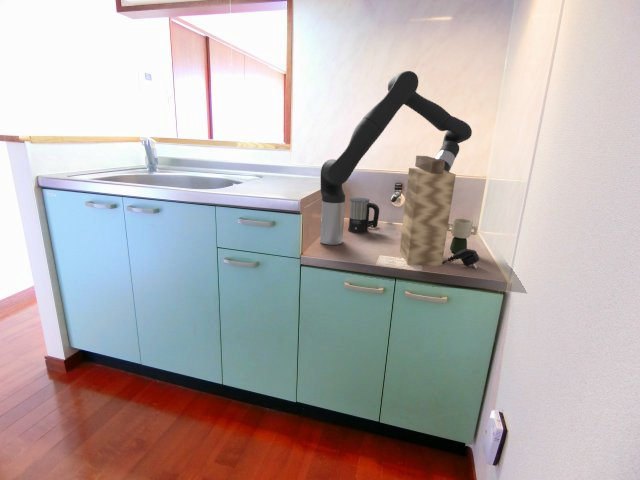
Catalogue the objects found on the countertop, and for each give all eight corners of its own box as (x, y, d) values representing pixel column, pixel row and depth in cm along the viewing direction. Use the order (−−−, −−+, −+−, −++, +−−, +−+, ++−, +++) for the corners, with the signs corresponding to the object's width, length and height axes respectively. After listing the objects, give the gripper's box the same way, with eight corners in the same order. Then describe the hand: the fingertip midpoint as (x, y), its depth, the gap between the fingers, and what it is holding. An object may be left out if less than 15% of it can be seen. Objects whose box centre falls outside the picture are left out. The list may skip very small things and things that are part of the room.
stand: (407, 264, 122) (418, 173, 112) (399, 250, 136) (408, 168, 126) (441, 266, 122) (455, 174, 112) (430, 251, 136) (442, 169, 126)
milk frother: (347, 232, 157) (349, 200, 152) (346, 223, 172) (348, 194, 167) (379, 234, 156) (382, 202, 152) (375, 225, 171) (378, 195, 167)
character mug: (473, 251, 137) (478, 220, 133) (472, 257, 131) (478, 224, 127) (444, 247, 142) (449, 216, 138) (442, 252, 136) (447, 220, 132)
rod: (430, 173, 112) (432, 160, 111) (415, 166, 134) (416, 155, 133) (443, 174, 112) (445, 161, 111) (425, 166, 134) (426, 155, 132)
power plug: (439, 258, 126) (471, 243, 122) (449, 275, 127) (481, 261, 123) (441, 264, 121) (474, 248, 117) (452, 282, 122) (485, 266, 118)
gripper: (422, 160, 143) (405, 191, 139) (452, 156, 131) (434, 189, 127) (432, 172, 147) (415, 202, 143) (461, 169, 135) (444, 202, 131)
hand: (424, 196), depth 135 cm, fingers open, 8 cm apart
